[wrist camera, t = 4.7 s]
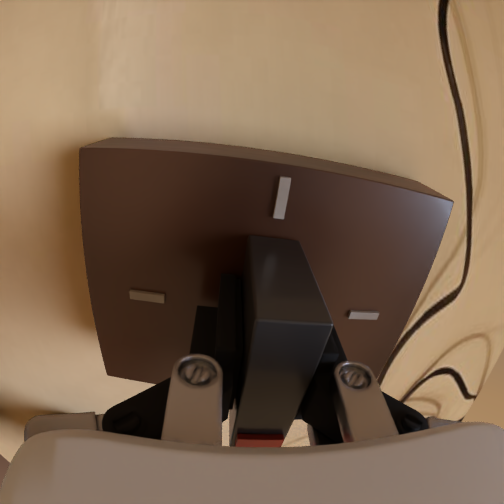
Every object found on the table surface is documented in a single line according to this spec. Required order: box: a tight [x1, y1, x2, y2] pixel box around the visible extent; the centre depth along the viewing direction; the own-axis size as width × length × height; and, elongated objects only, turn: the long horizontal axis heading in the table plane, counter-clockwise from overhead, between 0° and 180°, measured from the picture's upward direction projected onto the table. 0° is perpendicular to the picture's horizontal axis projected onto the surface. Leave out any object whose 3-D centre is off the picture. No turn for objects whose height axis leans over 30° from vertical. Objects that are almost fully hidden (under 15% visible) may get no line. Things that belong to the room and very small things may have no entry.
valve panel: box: [79, 138, 454, 384], centre depth 13 cm, size 14×11×3 cm
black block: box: [229, 235, 333, 447], centre depth 10 cm, size 6×2×5 cm, turn 172°
